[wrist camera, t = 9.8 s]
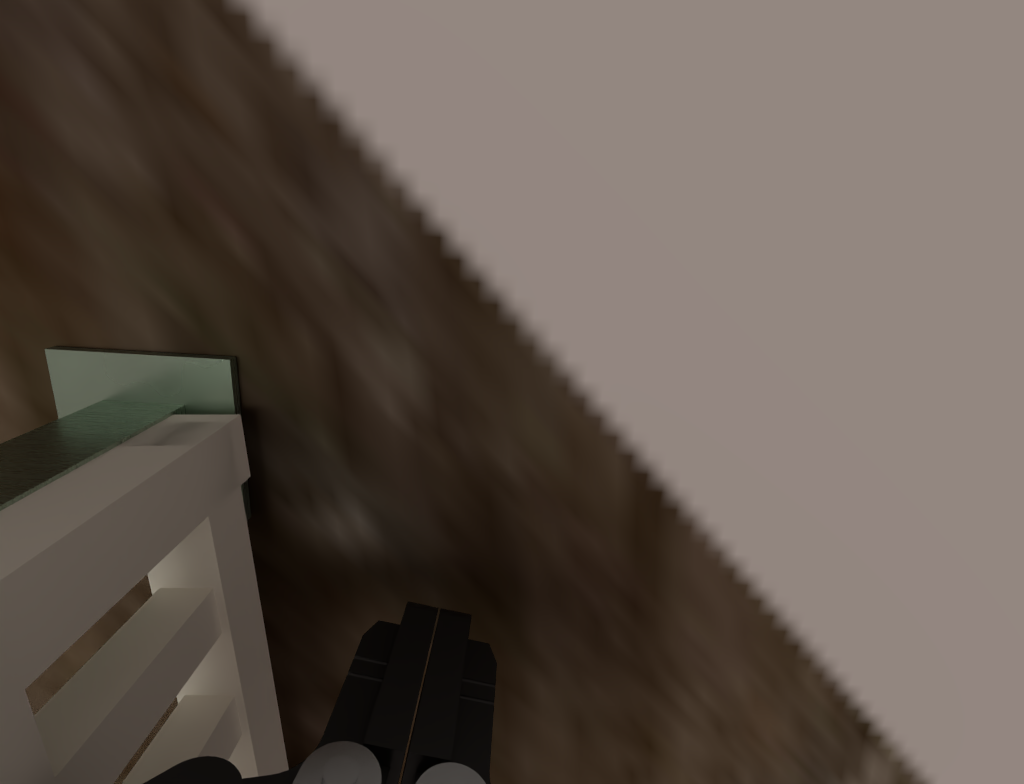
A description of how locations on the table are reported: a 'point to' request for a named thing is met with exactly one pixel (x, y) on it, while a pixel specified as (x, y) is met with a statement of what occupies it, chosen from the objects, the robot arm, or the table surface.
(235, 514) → the gate
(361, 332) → the table surface
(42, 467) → the gate posts
